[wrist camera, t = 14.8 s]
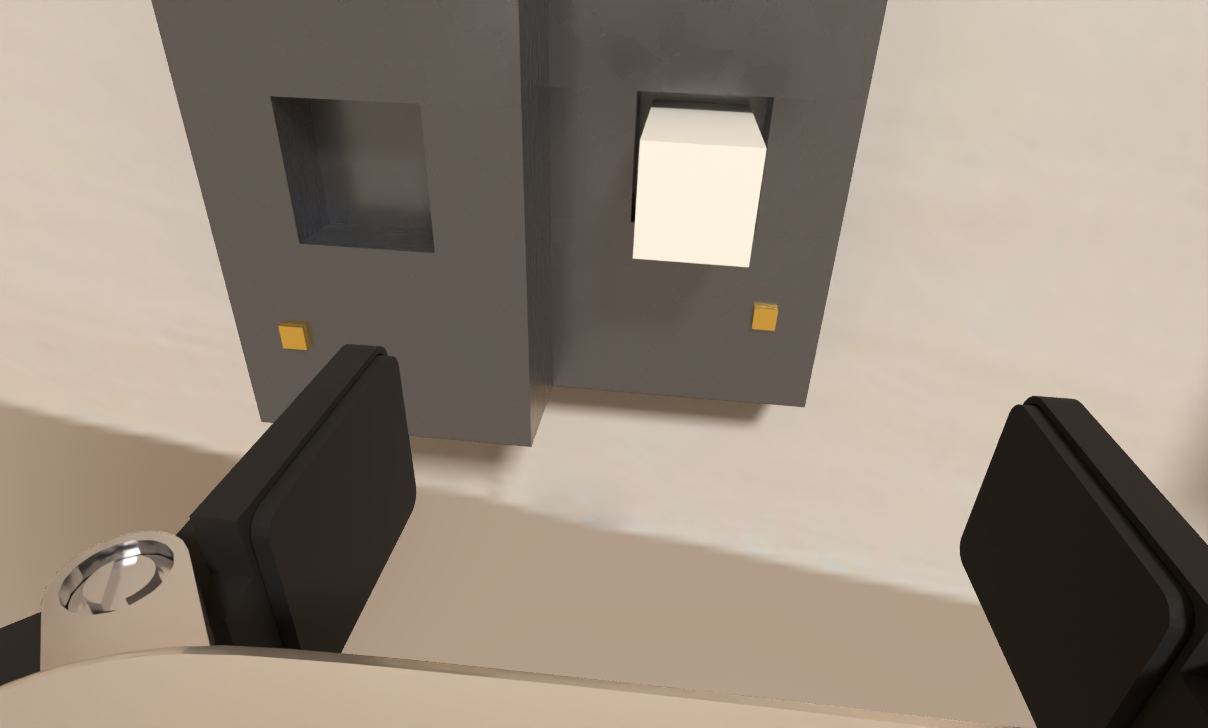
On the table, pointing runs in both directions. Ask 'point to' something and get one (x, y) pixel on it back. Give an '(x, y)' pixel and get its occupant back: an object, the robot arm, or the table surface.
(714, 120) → the plug
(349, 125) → the panel
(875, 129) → the table surface
